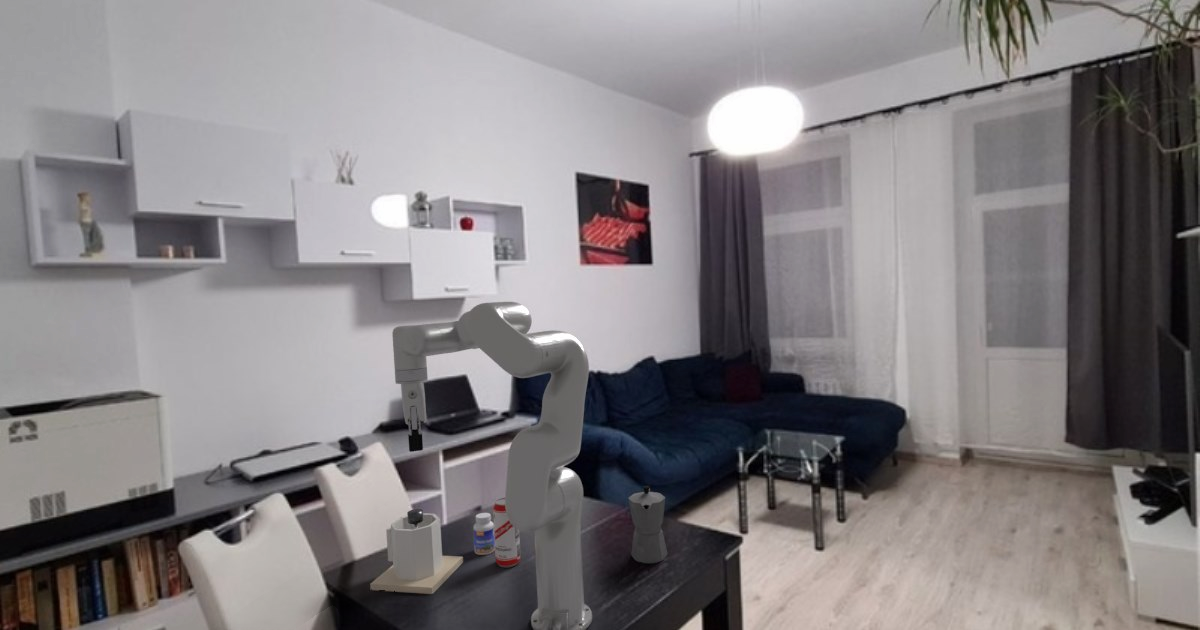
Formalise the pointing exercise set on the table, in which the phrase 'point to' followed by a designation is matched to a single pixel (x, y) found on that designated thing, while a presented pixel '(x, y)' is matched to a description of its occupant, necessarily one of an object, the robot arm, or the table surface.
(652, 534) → the coffeepot
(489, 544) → the pill bottle
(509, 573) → the table surface
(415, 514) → the plunger
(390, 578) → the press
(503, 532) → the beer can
